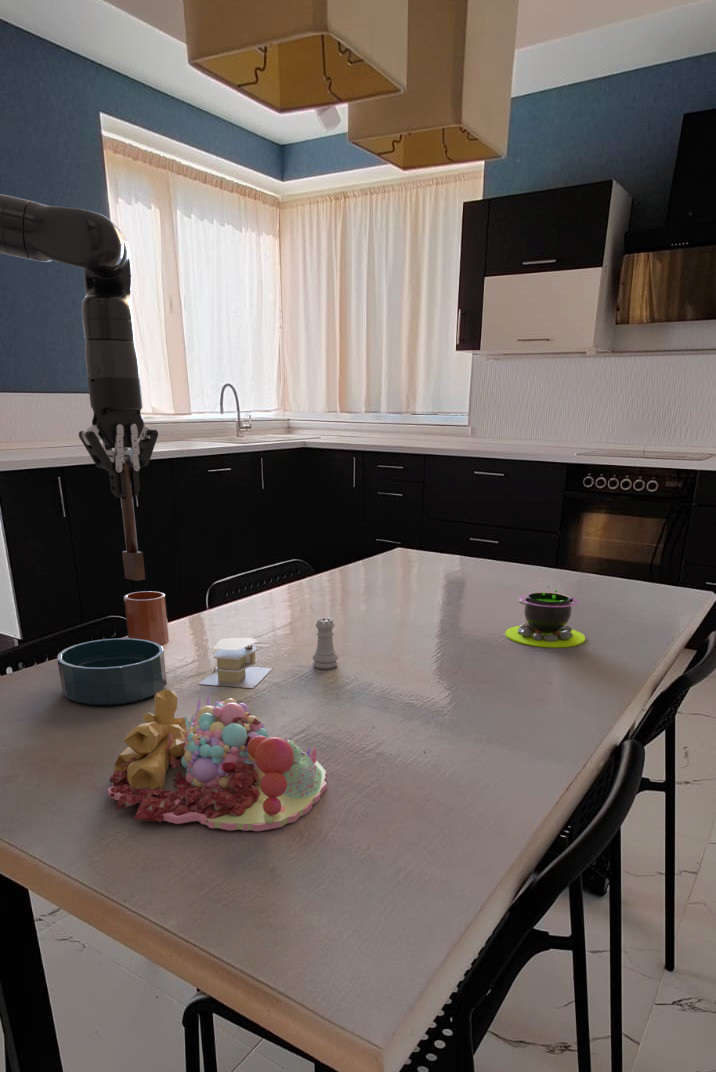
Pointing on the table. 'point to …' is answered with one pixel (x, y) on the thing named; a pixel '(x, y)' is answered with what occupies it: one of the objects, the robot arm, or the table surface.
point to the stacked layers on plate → (236, 664)
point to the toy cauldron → (546, 621)
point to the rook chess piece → (325, 645)
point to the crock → (147, 616)
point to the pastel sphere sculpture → (214, 769)
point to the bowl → (112, 671)
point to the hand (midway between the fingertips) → (126, 496)
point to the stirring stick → (130, 534)
